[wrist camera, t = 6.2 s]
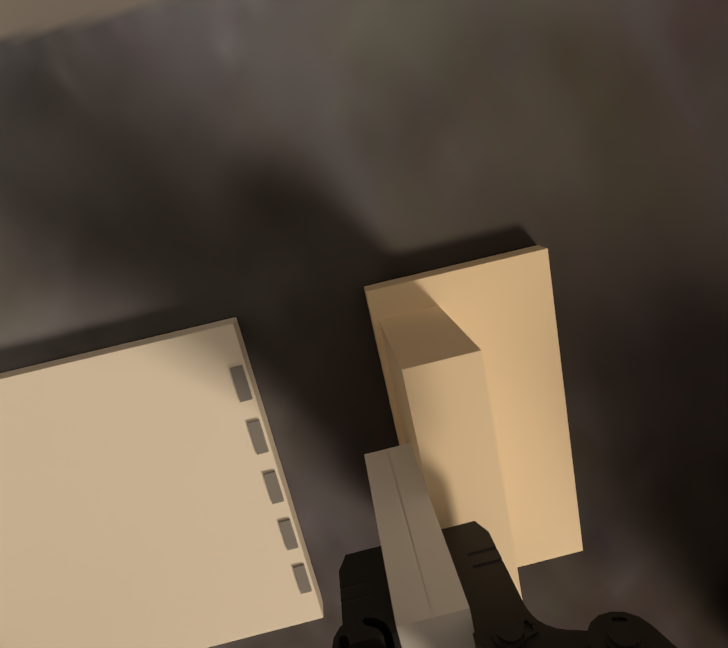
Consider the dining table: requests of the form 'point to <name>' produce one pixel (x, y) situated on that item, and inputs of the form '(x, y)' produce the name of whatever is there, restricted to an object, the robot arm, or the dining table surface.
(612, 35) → the dining table surface
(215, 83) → the dining table surface
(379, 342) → the stub
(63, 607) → the ticket
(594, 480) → the dining table surface
